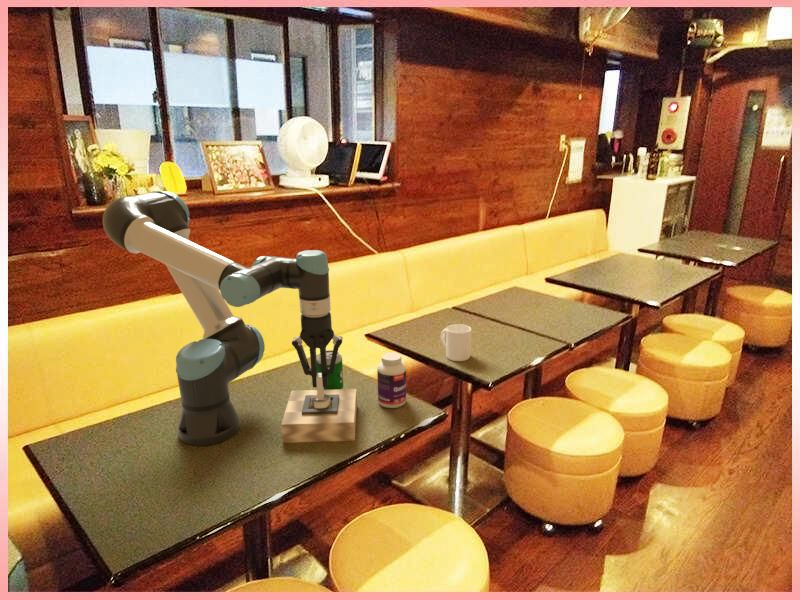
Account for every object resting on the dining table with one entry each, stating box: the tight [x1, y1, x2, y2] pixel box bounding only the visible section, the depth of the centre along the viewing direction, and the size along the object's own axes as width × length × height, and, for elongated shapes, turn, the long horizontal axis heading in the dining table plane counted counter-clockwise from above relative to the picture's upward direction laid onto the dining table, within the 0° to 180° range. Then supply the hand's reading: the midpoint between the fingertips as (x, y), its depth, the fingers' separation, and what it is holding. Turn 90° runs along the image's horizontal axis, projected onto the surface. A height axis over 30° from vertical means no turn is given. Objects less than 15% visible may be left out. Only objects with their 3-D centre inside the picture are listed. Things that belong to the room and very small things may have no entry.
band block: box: [280, 388, 358, 444], centre depth 148 cm, size 18×18×6 cm
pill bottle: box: [376, 352, 407, 409], centre depth 157 cm, size 8×8×14 cm
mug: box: [440, 323, 472, 362], centre depth 189 cm, size 12×8×10 cm
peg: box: [311, 394, 331, 409], centre depth 148 cm, size 5×5×6 cm
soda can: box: [316, 349, 344, 390], centre depth 165 cm, size 8×8×12 cm
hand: (321, 397), depth 147 cm, fingers closed
